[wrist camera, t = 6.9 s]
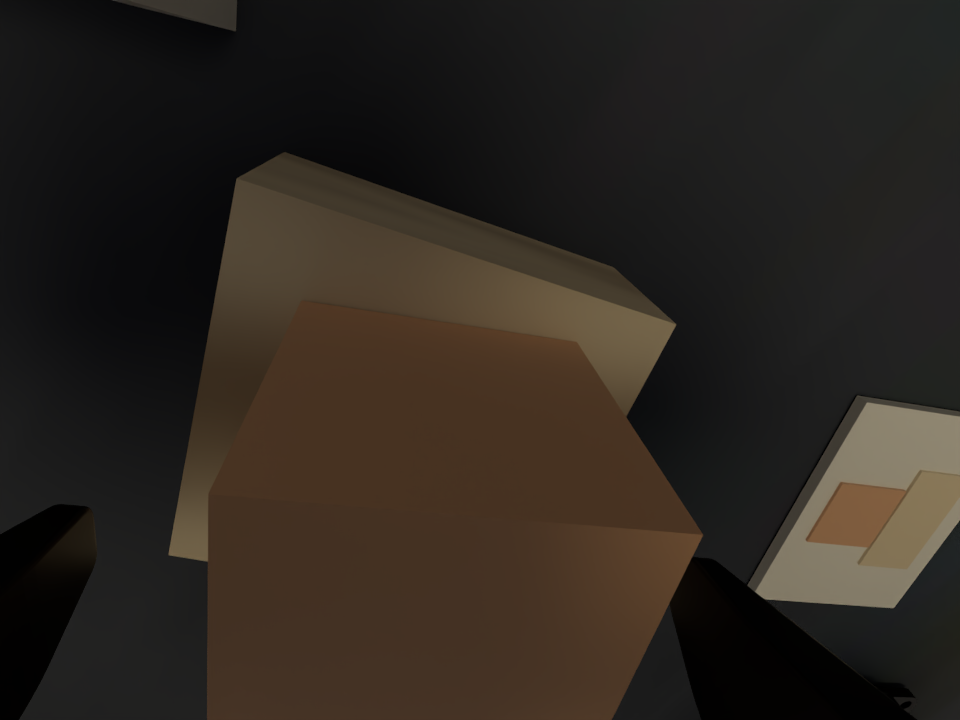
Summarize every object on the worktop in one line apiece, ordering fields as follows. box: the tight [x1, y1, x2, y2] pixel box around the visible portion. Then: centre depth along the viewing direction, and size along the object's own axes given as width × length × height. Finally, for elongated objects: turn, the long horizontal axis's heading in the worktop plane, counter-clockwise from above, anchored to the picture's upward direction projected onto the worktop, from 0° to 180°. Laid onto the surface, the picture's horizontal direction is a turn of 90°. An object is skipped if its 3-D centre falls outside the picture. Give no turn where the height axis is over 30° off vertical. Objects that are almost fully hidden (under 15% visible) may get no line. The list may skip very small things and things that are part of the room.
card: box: [747, 395, 960, 608], centre depth 18 cm, size 8×6×1 cm
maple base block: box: [168, 152, 676, 561], centre depth 13 cm, size 8×8×4 cm
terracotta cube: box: [207, 301, 703, 720], centre depth 9 cm, size 5×5×5 cm
